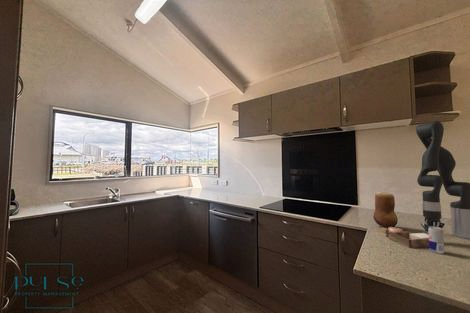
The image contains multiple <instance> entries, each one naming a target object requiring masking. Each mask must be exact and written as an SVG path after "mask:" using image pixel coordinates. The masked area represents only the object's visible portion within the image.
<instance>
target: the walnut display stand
mask: <svg viewBox="0 0 470 313" xmlns="http://www.w3.org/2000/svg"><path fill="white" fill-rule="evenodd" d="M388 239H389V240H390V241H392V242H395V243H397V244H399V245H402V246H405V247H407V248H409V249H411V248H412V249H413V248H429V239H427V238H424V239H410V231H403V232H389V236H388Z"/></svg>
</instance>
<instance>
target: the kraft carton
mask: <svg viewBox="0 0 470 313" xmlns="http://www.w3.org/2000/svg"><path fill="white" fill-rule="evenodd" d="M409 238H410V239H424V238H427V239H429V234H427V233H425V232H418V233H417V232H416V233H409Z"/></svg>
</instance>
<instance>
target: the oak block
mask: <svg viewBox="0 0 470 313" xmlns="http://www.w3.org/2000/svg"><path fill="white" fill-rule="evenodd" d="M378 235H380V236H383V237H389V229H387V228H383V227H378Z"/></svg>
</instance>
